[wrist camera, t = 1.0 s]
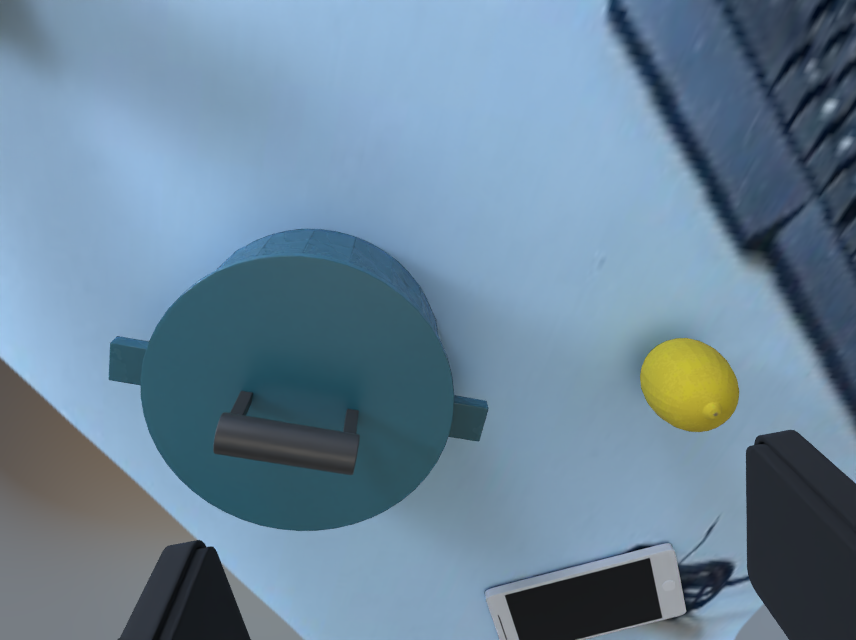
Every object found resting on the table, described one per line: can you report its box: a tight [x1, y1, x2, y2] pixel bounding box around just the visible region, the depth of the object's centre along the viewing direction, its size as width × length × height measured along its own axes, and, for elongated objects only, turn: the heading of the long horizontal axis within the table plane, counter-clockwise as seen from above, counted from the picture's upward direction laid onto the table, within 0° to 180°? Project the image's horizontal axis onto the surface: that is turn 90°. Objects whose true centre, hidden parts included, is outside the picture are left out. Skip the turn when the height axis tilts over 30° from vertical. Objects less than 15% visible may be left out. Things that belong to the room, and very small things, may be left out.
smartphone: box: [485, 543, 686, 640], centre depth 53 cm, size 7×15×1 cm, turn 107°
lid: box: [141, 253, 454, 531], centre depth 35 cm, size 18×18×6 cm
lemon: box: [640, 338, 739, 432], centre depth 42 cm, size 6×6×8 cm
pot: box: [109, 229, 488, 441], centre depth 40 cm, size 17×22×8 cm
